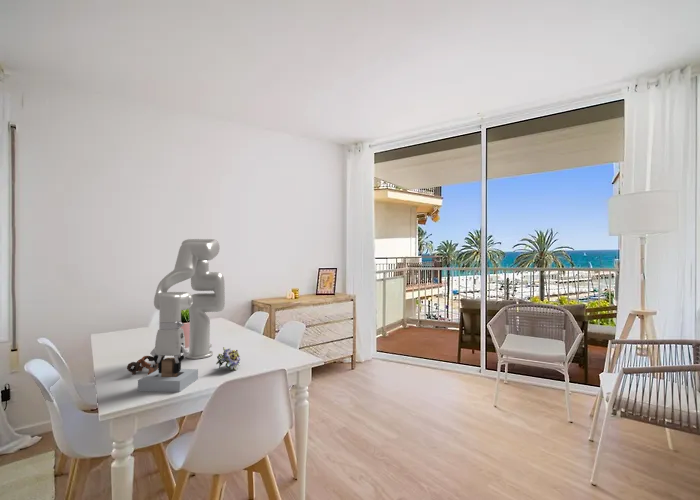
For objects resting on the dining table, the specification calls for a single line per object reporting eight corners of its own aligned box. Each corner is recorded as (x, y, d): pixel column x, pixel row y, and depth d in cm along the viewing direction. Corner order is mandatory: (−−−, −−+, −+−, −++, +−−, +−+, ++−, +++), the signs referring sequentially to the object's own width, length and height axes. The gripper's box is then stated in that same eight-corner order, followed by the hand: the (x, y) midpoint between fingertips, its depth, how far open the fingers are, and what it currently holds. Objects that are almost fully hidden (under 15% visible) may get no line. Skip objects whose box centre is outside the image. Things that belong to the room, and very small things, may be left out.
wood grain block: (167, 382, 138) (167, 357, 139) (177, 383, 138) (177, 357, 138) (161, 386, 134) (161, 360, 135) (171, 386, 134) (171, 360, 134)
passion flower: (234, 382, 154) (232, 365, 147) (211, 377, 155) (208, 359, 148) (245, 362, 163) (243, 344, 157) (223, 357, 164) (220, 340, 158)
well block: (160, 378, 143) (160, 368, 144) (197, 378, 143) (198, 369, 143) (137, 391, 130) (137, 380, 130) (179, 391, 129) (179, 380, 129)
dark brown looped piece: (146, 369, 157) (156, 354, 157) (155, 383, 151) (165, 366, 151) (119, 370, 147) (129, 353, 147) (127, 384, 141) (137, 366, 141)
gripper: (196, 324, 140) (195, 369, 140) (154, 323, 141) (154, 369, 140) (186, 327, 133) (185, 375, 132) (142, 327, 133) (142, 375, 133)
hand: (169, 371), depth 136 cm, fingers open, 5 cm apart
